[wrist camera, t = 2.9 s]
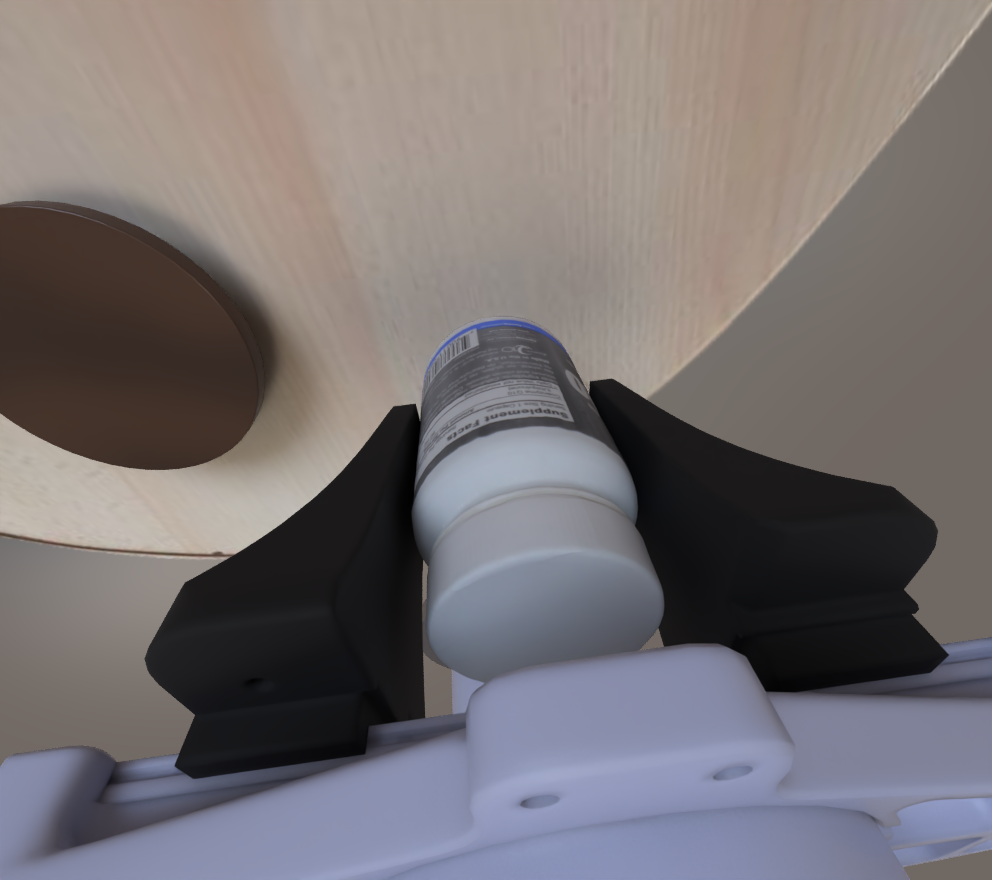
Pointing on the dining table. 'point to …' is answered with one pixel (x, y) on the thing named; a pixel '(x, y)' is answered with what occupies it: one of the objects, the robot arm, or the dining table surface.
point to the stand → (119, 342)
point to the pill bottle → (524, 509)
